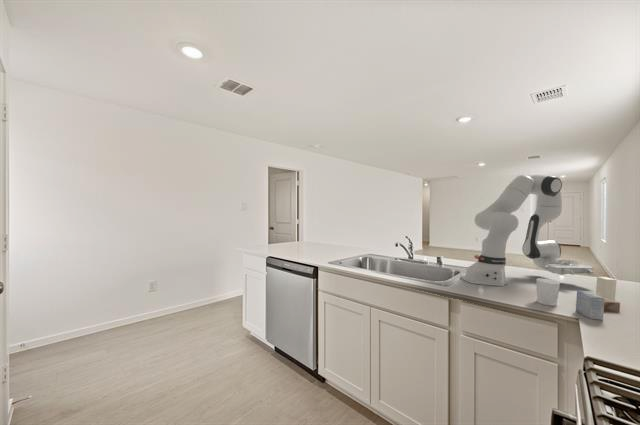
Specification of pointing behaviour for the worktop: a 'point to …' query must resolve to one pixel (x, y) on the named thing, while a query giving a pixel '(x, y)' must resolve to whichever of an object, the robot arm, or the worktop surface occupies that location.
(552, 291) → the white cup
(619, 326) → the worktop surface
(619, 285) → the worktop surface
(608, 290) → the cream pillar
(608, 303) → the walnut block
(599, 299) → the medicine box
